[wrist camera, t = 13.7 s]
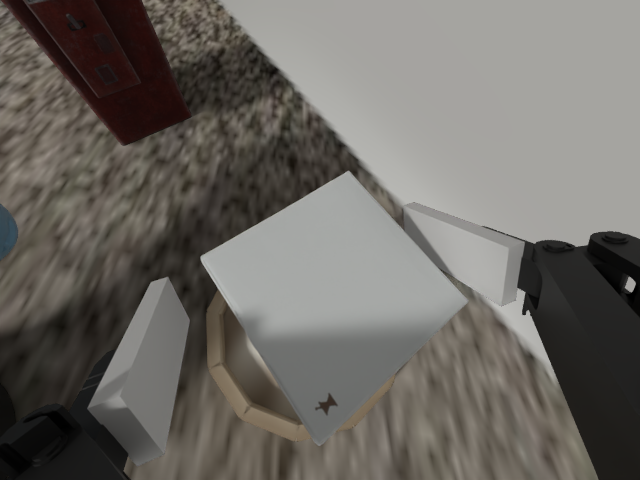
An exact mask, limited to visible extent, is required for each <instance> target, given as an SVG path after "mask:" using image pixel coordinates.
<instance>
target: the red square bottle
mask: <svg viewBox="0 0 640 480" xmlns="http://www.w3.org/2000/svg"><path fill="white" fill-rule="evenodd" d="M1 1H2V2H3V3H4V4H5V5H6V7H7V8H8V9H9V10H10V11H11V13H12V14H13V15H14V16H15V17H16V19H17V20H18V21H19V22H20V23H21V25H22V26H23V27H24V28H25V29H26V31H27V32H28V33H29V34H30V35H31V37H32V38H33V39H34V40H35V41H36V43H37V44H38V45H39V46H40V47H41V49H42V50H43V51H44V52H45V53H46V55H47V56H48V57H49V58H50V59H51V61H52V62H53V63H54V64H55V65H56V67H57V68H58V69H59V70H60V71H61V73H62V74H63V75H64V76H65V77H66V79H67V80H68V81H69V82H70V83H71V85H72V86H73V87H74V88H75V89H76V91H77V92H78V93H79V94H80V95H81V97H82V98H83V99H84V100H85V101H86V103H87V104H88V105H89V106H90V107H91V109H92V110H93V111H94V112H95V113H96V115H97V116H98V117H99V118H100V119H101V121H102V122H103V123H104V124H105V125H106V127H107V128H108V129H109V130H110V131H111V133H112V134H113V135H114V136H115V137H116V139H117V140H118V141H119V142H120V143H121V145H123V146H124V145H127V144H130V143H132V142H134V141H137V140H139V139H141V138H144V137H146V136H148V135H151V134H153V133H155V132H158V131H160V130H162V129H165V128H167V127H169V126H172V125H174V124H176V123H179V122H181V121H183V120H186V119H188V118H190V117H191V113H190V111H189V108H188V106H187V104H186V102H185V99H184V97H183V95H182V92H181V90H180V88H179V85H178V83H177V81H176V78H175V76H174V74H173V72H172V69H171V67H170V65H169V62H168V60H167V58H166V55H165V53H164V51H163V49H162V46H161V44H160V42H159V39H158V37H157V35H156V32H155V30H154V28H153V25H152V23H151V21H150V19H149V16H148V14H147V12H146V9H145V7H144V5H143V2H142V0H1Z"/></svg>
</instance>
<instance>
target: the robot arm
mask: <svg viewBox="0 0 640 480" xmlns="http://www.w3.org/2000/svg"><path fill="white" fill-rule="evenodd" d="M403 214H404V231H405V232H406V233H407V234H408V235H409V237H410V238H411V239H412V240H413V241H414V242H415V243H416V244H417V245H418V246H419V248H420V249H421V250H422V251H423V252H424V253H425V254H426V255H427V256H428V257H429V258H430V260H431V261H432V262H433V263H434V264H435V265H436V266H437V267H438V268H440V269H442V270H443V271H445V272H446V273H448V274H450V275H451V276H453V277H454V278H456V279H458V280H459V281H461V282H462V283H464V284H466V285H467V286H469V287H470V288H472V289H474V290H475V291H477V292H478V293H480V294H482V295H483V296H485V297H486V298H488V299H490V300H491V301H493V302H494V303H496V304H498V305H499V306H504V305H506V304H508V303H510V302H513V301H515V300H516V294H517V288H519V289H521V290H523V291H525V292H526V293H525V299H524V304H523V310H522V314H523V315H526V311H527V310H529V311H530V315H531V316H532V319H533V321H534V324H535V326H536V328H537V331H538V333H539V336H540V338H541V340H542V343H543V345H544V348H545V350H546V353H547V355H548V358H549V360H550V362H551V365H552V367H553V370H554V372H555V374H556V377H557V379H558V382H559V384H560V387H561V389H562V391H563V394H564V396H565V399H566V401H567V404H568V406H569V408H570V411H571V413H572V416H573V418H574V420H575V423H576V425H577V428H578V430H579V433H580V435H581V437H582V440H583V442H584V445H585V447H586V449H587V452H588V454H589V457H590V459H591V462H592V464H593V466H594V469H595V471H596V474H597V476H598V479H599V480H640V239H638V238H636V237H633V236H630V235H627V234H622V233H620V232H613V231H608V232H598V233H594V234H592V235H591V236H590V240H589V244H588V245H587V246H580V247H575V246H574V245H572V244H569V243H566V242H562V241H555V240H545V241H540V242H536V244H533V243H531V242H528V241H525V240H522V239H519V238H517V237H514V236H510V235H508V234H506V235H505V233H502V232H499V231H498V232H497V230H494V229H491V228H488V227H484V226H479V225H476V224H473V223H471V222H468V221H465V220H462V219H459V218H457V217H454V216H451V215H448V214H445V213H443V212H440V211H437V210H434V209H431V208H429V207H426V206H423V205H420V204H418V203H415V202H413V203H410V204H407V205H404V206H403ZM17 238H18V228H17V224H16V222H15V220H14V218H13V217H12V215H11V214H10V213H9V212H8V210H7V209H6V208H5V207H3V206H2V205H1V204H0V260H1V259H3V258H4V257H5V256H6V255H7V254H8V253H9V252H10V251H11V250H12V248H13V247H14V245H15V244H16V241H17ZM629 276H630V277H631V278H632V279H633V280H634V281H635V282H636V285H635V288H634V290H633V292H632V293H631V292H629V291H628V290H626V289H625V285H626V283H627V280H628V277H629ZM189 323H190V320H189V318H188V316H187V314H186V312H185V310H184V308H183V306H182V304H181V302H180V300H179V298H178V296H177V294H176V292H175V290H174V288H173V286H172V284H171V282H170V280H169V278H168V277H166V278H162V279H159V280H156V281H152V282H151V283H150V285H149V287H148V289H147V291H146V293H145V295H144V297H143V299H142V301H141V303H140V305H139V307H138V309H137V311H136V313H135V315H134V317H133V319H132V321H131V323H130V325H129V327H128V329H127V331H126V333H125V335H124V337H123V339H122V341H121V342H120V344H119V346H118V348H117V349H115V350H113V351H110V352H107V353H106V354H105V355H104V356H103V357H102V358H101V360H100V361H99V362H98V363H97V364H96V365H95V366H94V368H93V370H92V372H91V373H90V375H89V377H88V380H86V382H85V384H84V386H83V388H82V391H80V393H79V395H78V396H77V398H76V400H75V402H74V403H73V405H72V407H71V409H70V411H69V412H68V411H67V410H66V409H65V408H64V407H63V406H62V405H60V404H51V405H46V406H44V407H42V408H39V409H37V410H35V411H33V412H32V413H30V414H28V415H27V416H25V417H24V418H22V419H21V420H19V421H18V422H17V423H16V424H15V415H14V410H13V406H12V403H11V400H10V398H9V396H8V394H7V392H6V390H5V389H4V387H3V386H2V385H1V384H0V480H5V479H6V476H7V475H8V476H9V478H7V479H6V480H131V479H130V478H129V477H128V476H127V475H126V474H125V473H124V472H123V470H124V467H125V464H126V461H127V457H128V456H129V457H130V459H131V460H132V461H133V462H134V463H135V464H136V465H137V466H139V465H142V464H144V463H146V462H148V461H151V460H153V459H155V458H157V457H160V456H162V455H164V454H165V449H166V443H167V438H168V433H169V428H170V422H171V417H172V412H173V407H174V402H175V396H176V391H177V386H178V381H179V375H180V370H181V365H182V360H183V354H184V349H185V344H186V339H187V333H188V328H189Z"/></svg>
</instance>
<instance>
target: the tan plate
mask: <svg viewBox="0 0 640 480" xmlns="http://www.w3.org/2000/svg"><path fill="white" fill-rule="evenodd" d="M207 311H208V313H206V325H207V364H208V368H210V369H209V370H208V371H209V372H210V374H211V375H212V377H213V378H214V380H215V381H216V383H217V384H218V386H219V388H220V389H221V391H222V392H223V394H224V395H225V397H226V398H227V400H228V401H229V403H230V404H231V406H232V408H233V409H234V411H235V412H236V414H237V415H238V417H239V418H241V417H242V416H243V417H242V419H241V420H243V421H245V422H248V423H250V424H253V425H255V426H258V427H260V428H262V429H265V430H267V431H270V432H272V433H275V434H277V435H280V436H282V437H285V438H287V439H290V440H292V441H296V438H297V442H299V441H303V440H307V439H311V438H312V437H311V436H310V434H309V433H308V431H307V429H306V428H305V426H304V425H303V423H302V422H301V420H300V418H299V417H298V415H297V414H296V412H295V410H294V409H293V407H292V405H291V404H290V402H289V401H288V399H287V397H286V396H285V394H284V393H283V391H282V389H281V388H280V386H279V385H278V383H277V382H276V380H275V378H274V377H273V375H272V374H271V372H270V370H269V369H268V367H267V366H266V364H265V362H264V361H263V359H262V358H261V356H260V355H259V353H258V352H257V350H256V349H255V348H254V346H253V345H252V343H251V342H250V340H249V338H248V336H247V334H246V332H245V331H244V329H243V327H242V326H241V324H240V323H239V321H238V319H237V318H236V316H235V315H234V313H233V311H232V310H231V308H230V307H229V305H228V303H227V302H226V300H225V299H224V297H223V295H222V294H221V292H220V291H219V289H218V290H217V292H216V294H215V296H214V298H213V300H212V302H211V304H210V305H209V307H208V309H207ZM395 374H396V373H395ZM395 374H394V375H393V376H392V377H391V378H390V379H389V380H388V381H387V382H386V383H385V384H384V385H383V386H382V387H381V388H380V389H379V390H378V391H377V392H376V393H375V394H374V395H373V396H372V397H371V398H369V399H368V400H367V401H366V402H365V403H364V404H363V405H362V406H361V407H360V408H359V409H358V410H357V411H356V412H355V413H354V414H353V415H352V416H351V417H350V418H349V419H348V420H347V421H346V422H345V423H344V424H343V425H342V426H341V427H340V428H339V429H338V430H337V431H336V432H338V431H342V430H346V429H350V428H353V425H354V426H356V425H357V424H358V423H359V422H360V421H361V419H362V418H363V417H364V416H365V415H366V414H367V413H368V412H369V411H370V409H371V408H372V407H373V406H374V405H375V404H376V403H377V402H378V401H379V399H380V398H381V397H382V396H383V395H384V394H385V393H386V392H387V391H388V389H389V388H390V387H391V386H392V385H393V384H392V383H394V379H395ZM391 382H392V383H391Z"/></svg>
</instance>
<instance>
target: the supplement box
mask: <svg viewBox="0 0 640 480" xmlns="http://www.w3.org/2000/svg"><path fill="white" fill-rule="evenodd" d="M201 261H202V264H203V265H204V267H205V268H206V270H207V272H208V273H209V275H210V276H211V278H212V280H213V281H214V283H215V284H216V286H217V288H218V289H219V291H220V292H221V294H222V295H223V297H224V299H225V300H226V302H227V303H228V305H229V307H230V308H231V310H232V311H233V313H234V315H235V316H236V318H237V319H238V321H239V323H240V324H241V326H242V327H243V329H244V331H245V332H246V334H247V336H248V338H249V340H250V342H251V343H252V345H253V346H254V348H255V349H256V350H257V352H258V353H259V355H260V356H261V358H262V359H263V361H264V362H265V364H266V366H267V367H268V369H269V370H270V372H271V374H272V375H273V377H274V378H275V380H276V382H277V383H278V385H279V386H280V388H281V389H282V391H283V393H284V394H285V396H286V397H287V399H288V401H289V402H290V404H291V405H292V407H293V409H294V410H295V412H296V414H297V415H298V417H299V418H300V420H301V422H302V423H303V425H304V426H305V428H306V429H307V431H308V433H309V434H310V436H311V437H312V439H313V440H314V442H315V443H316V444H317V445H322V444H323V443H324V442H325V441H326V440H327V439H328V438H329V437H330V436H332V435H333V434H334V433H335V432H336V431H337V430H338V429H339V428H340V427H341V426H342V425H343V424H344V423H345V422H346V421H347V420H348V419H349V418H350V417H351V416H352V415H353V414H354V413H355V412H356V411H357V410H358V409H359V408H360V407H361V406H362V405H363V404H364V403H365V402H366V401H367V400H368V399H369V398H371V397H372V396H373V395H374V394H375V393H376V392H377V391H378V390H379V389H380V388H381V387H382V386H383V385H384V384H385V383H386V382H387V381H388V380H389V379H390V378H391V377H392V376H393V375H394V374H395V373H396V372H397V371H398V370H399V369H400V368H401V367H402V366H403V365H404V364H405V363H406V362H407V361H408V360H409V359H410V358H411V357H412V356H413V355H414V354H415V353H416V352H417V351H418V350H419V349H420V348H421V347H422V346H423V345H424V344H425V343H426V342H428V341H429V340H430V339H431V338H432V337H433V336H434V335H435V334H436V333H437V332H438V331H439V330H440V329H441V328H442V327H443V326H444V325H445V324H446V323H447V322H448V321H449V320H450V319H451V318H452V317H453V316H454V315H455V314H456V313H457V312H458V311H459V310H460V309H461V308H462V307H463V306H465V305H466V304H467V303H468V299H467V298H466V297H465V296H464V295H463V294H462V293H461V292H460V291H459V290H458V289H457V288H456V287H455V286H454V285H453V283H452V282H451V281H450V280H449V279H448V278H447V277H446V276H445V275H444V274H443V273H442V272H441V270H440V269H439V268H438V267H437V266H436V265H435V264H434V263H433V262H432V261H431V260H430V258H429V257H428V256H427V255H426V254H425V253H424V252H423V251H422V250H421V249H420V248H419V246H418V245H417V244H416V243H415V242H414V241H413V240H412V239H411V238H410V237H409V235H408V234H407V233H406V232H405V231H404V230H403V229H402V228H401V227H400V226H399V225H398V224H397V222H396V221H395V220H394V219H393V218H392V217H391V216H390V215H389V214H388V213H387V212H386V211H385V209H384V208H383V207H382V206H381V205H380V204H379V203H378V202H377V201H376V200H375V199H374V198H373V196H372V195H371V194H370V193H369V192H368V191H367V190H366V189H365V188H364V187H363V186H362V185H361V183H360V182H359V181H358V180H357V179H356V178H355V177H354V176H353V175H352V173H351V172H350V171H347V172H345V173H344V174H342V175H341V176H339V177H337V178H335V179H334V180H332V181H330V182H328V183H327V184H325V185H323V186H322V187H320V188H318V189H317V190H315V191H313V192H312V193H310V194H308V195H307V196H305V197H303V198H302V199H300V200H298V201H297V202H295V203H293V204H291V205H290V206H288V207H286V208H285V209H283V210H281V211H280V212H278V213H276V214H274V215H272V216H271V217H269V218H267V219H265V220H264V221H262V222H260V223H259V224H257V225H255V226H253V227H251V228H249V229H248V230H246V231H244V232H243V233H241V234H239V235H237V236H236V237H234V238H232V239H230V240H229V241H227V242H225V243H224V244H222V245H220V246H218V247H216V248H215V249H213V250H211V251H209V252H207V253H206V254H204V255H202V256H201Z"/></svg>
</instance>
